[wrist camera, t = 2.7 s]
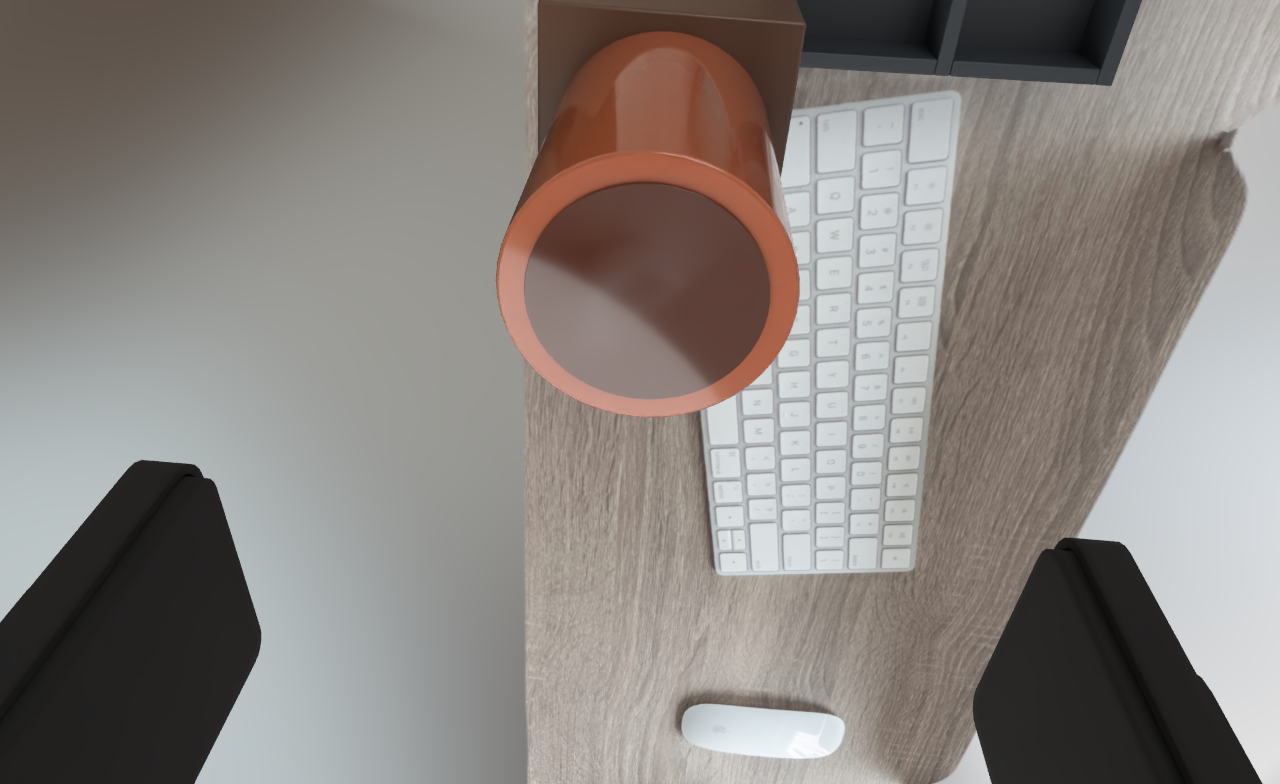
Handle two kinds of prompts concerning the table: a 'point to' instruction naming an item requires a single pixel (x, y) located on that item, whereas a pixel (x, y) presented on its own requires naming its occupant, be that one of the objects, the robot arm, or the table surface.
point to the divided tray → (971, 37)
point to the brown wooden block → (685, 3)
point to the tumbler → (652, 234)
